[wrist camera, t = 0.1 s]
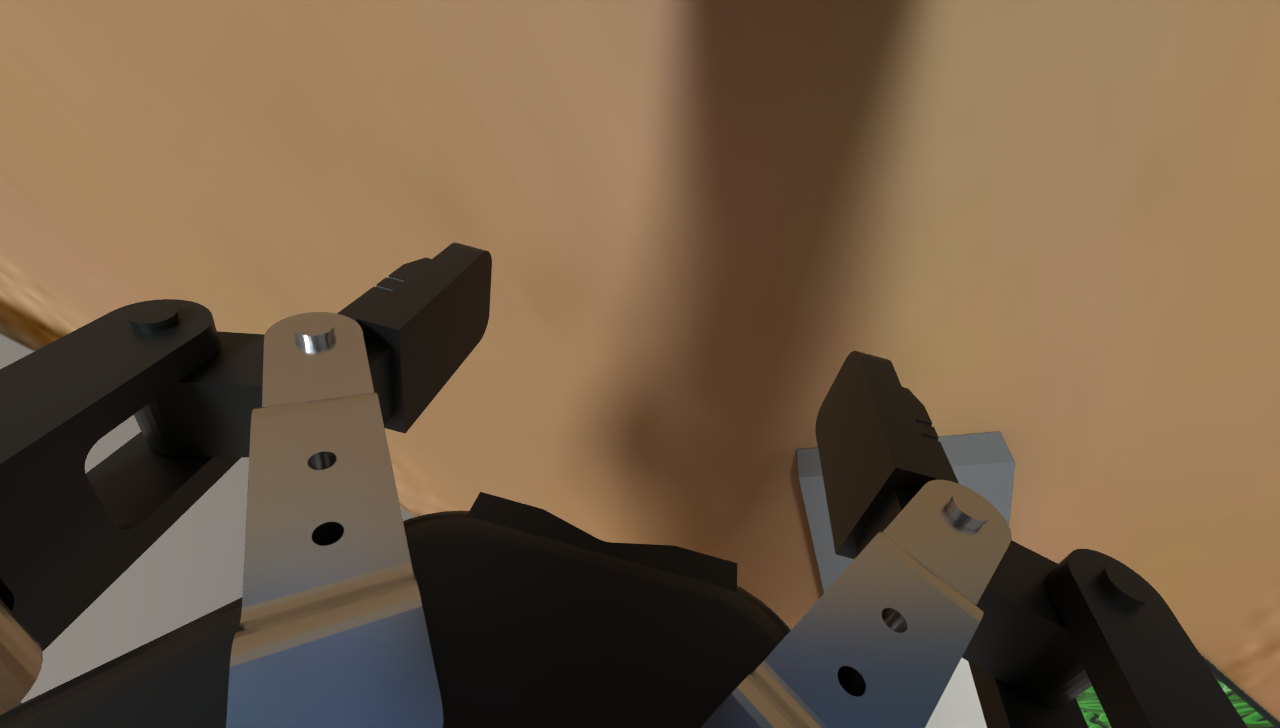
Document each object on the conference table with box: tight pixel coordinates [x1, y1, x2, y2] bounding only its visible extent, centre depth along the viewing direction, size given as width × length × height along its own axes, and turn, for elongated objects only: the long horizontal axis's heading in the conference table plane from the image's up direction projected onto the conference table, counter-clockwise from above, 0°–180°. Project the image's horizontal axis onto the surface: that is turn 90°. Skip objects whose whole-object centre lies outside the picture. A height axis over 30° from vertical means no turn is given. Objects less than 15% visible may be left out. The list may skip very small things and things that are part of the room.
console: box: [797, 432, 1015, 593], centre depth 39 cm, size 22×12×4 cm, turn 18°
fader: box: [925, 658, 987, 728], centre depth 31 cm, size 3×3×14 cm
